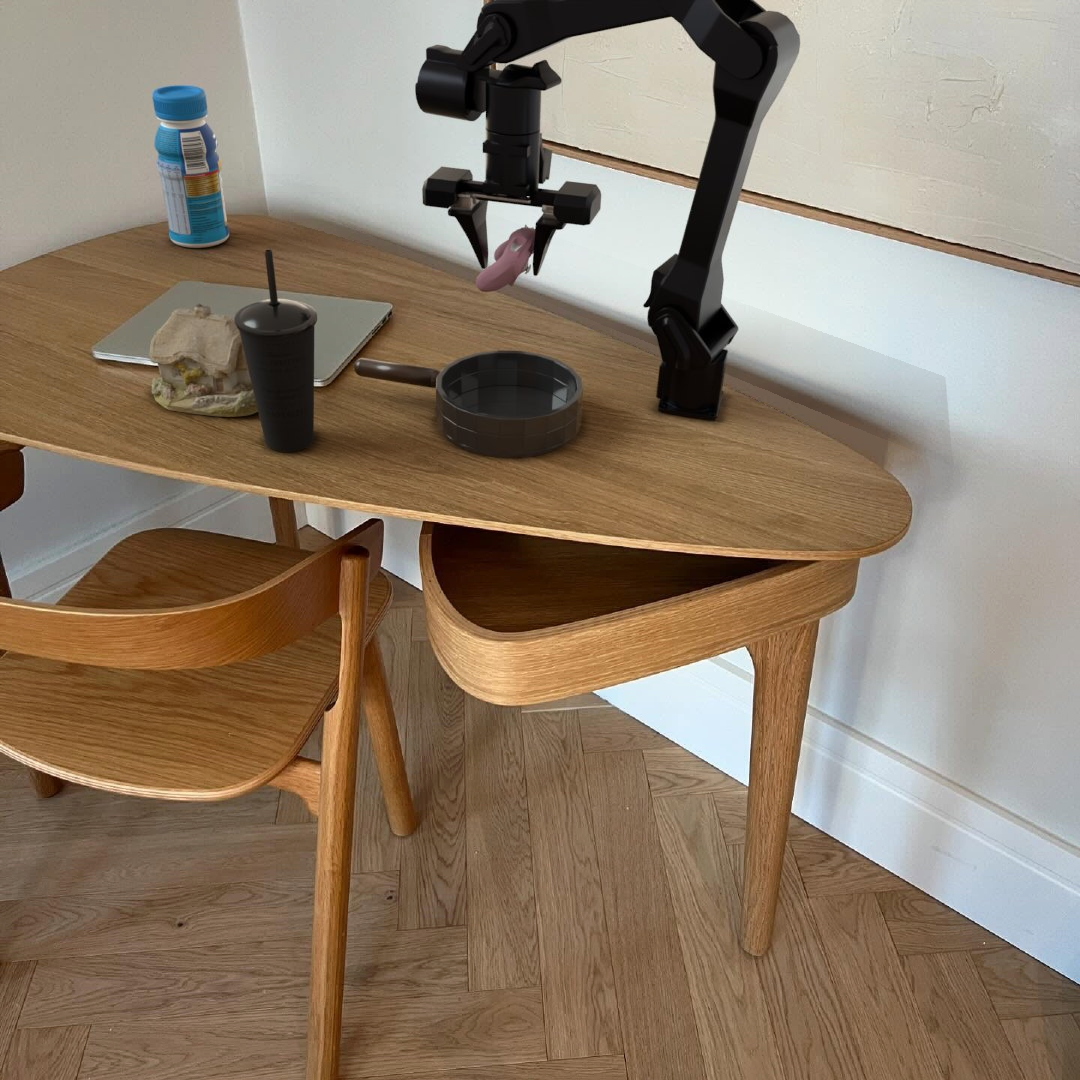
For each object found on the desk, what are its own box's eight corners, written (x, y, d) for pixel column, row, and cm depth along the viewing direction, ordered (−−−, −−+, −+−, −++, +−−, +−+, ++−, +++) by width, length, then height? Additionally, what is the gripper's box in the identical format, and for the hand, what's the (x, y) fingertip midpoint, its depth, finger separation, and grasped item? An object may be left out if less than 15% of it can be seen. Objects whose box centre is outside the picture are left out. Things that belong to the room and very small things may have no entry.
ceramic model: (129, 401, 116) (111, 314, 111) (191, 358, 125) (177, 275, 119) (243, 428, 113) (231, 339, 107) (299, 381, 121) (290, 297, 116)
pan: (593, 399, 121) (596, 362, 118) (560, 468, 109) (563, 429, 106) (462, 378, 124) (462, 341, 121) (416, 443, 112) (415, 405, 109)
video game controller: (506, 310, 121) (536, 258, 116) (470, 288, 120) (499, 235, 116) (526, 276, 128) (554, 227, 124) (492, 256, 128) (520, 206, 124)
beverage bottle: (158, 246, 152) (133, 96, 140) (184, 225, 159) (162, 80, 147) (216, 252, 151) (195, 101, 139) (240, 231, 158) (221, 85, 146)
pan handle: (446, 384, 117) (445, 367, 116) (440, 392, 115) (439, 375, 114) (358, 370, 119) (357, 353, 117) (351, 378, 117) (350, 361, 116)
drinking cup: (292, 468, 107) (270, 273, 95) (235, 444, 110) (206, 253, 98) (343, 436, 112) (328, 247, 101) (287, 414, 115) (266, 229, 104)
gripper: (616, 117, 119) (606, 256, 128) (453, 101, 122) (455, 236, 131) (593, 145, 110) (584, 292, 119) (418, 126, 113) (423, 270, 122)
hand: (510, 271), depth 123 cm, fingers closed on video game controller, 6 cm apart
